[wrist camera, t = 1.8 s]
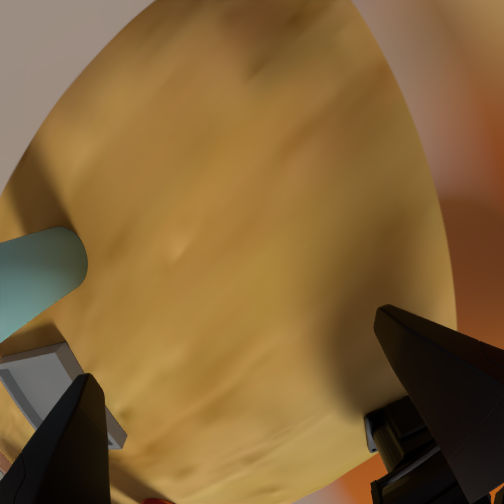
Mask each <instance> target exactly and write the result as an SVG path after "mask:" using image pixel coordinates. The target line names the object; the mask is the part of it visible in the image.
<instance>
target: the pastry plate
mask: <svg viewBox="0 0 504 504" xmlns="http://www.w3.org/2000/svg"><path fill="white" fill-rule="evenodd" d="M11 466H12V465H11V464H10V463H9V461H8V460H7V459H6V458H5V457H4V456H3V455H2V454H1V452H0V470H1V471H2V472H3V473H4V474H6V472H7V471H8V470H9V468H10V467H11Z"/></svg>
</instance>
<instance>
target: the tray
mask: <svg viewBox="0 0 504 504" xmlns="http://www.w3.org/2000/svg"><path fill="white" fill-rule="evenodd" d="M79 374H84V372H83V370H82V368H81V367H80V365H79V363H78V362H77V360H76V358H75V356H74V355H73V353H72V351H71V349H70V347H69V345H68V344H67V342H62V343H58V344H54V345H50V346H46V347H42V348H38V349H34V350H29V351H25V352H21V353H17V354H12V355H8V356H4V357H1V358H0V380H1V382H2V383H3V385H4V387H5V388H6V390H7V391H8V393H9V394H10V396H11V397H12V399H13V400H14V402H15V403H16V405H17V406H18V408H19V409H20V410H21V412H22V413H23V415H24V416H25V417H26V419H27V420H28V421H29V423H30V424H31V425H32V427H33V428H34V429H35V430H37V429H38V427H39V426H40V424H41V423H42V422H43V420H44V419H45V418H46V416H47V415H48V414H49V412H50V411H51V409H52V408H53V407H54V405H55V404H56V403H57V401H58V400H59V399H60V398H61V396H62V395H63V394H64V392H65V391H66V390H67V388H68V387H69V386H70V385H71V383H72V382H73V381H74V379H75V378H76V377H77V376H78V375H79ZM105 410H106V422H107V431H108V449H122V448H123V445H124V443H125V441H126V438H127V434H126V433H125V432H124V430H123V429H122V428H121V426H120V425H119V424H118V422H117V421H116V420H115V418H114V417H113V416H112V414H111V413H110V411H109V410H108V409H107V407H106V406H105Z"/></svg>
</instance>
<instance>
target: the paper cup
mask: <svg viewBox="0 0 504 504" xmlns="http://www.w3.org/2000/svg"><path fill="white" fill-rule="evenodd" d="M142 504H174V503H172V502H169V501H166V500H162V499H156V498H148V499H145V500H143V502H142Z"/></svg>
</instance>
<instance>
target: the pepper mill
mask: <svg viewBox="0 0 504 504" xmlns="http://www.w3.org/2000/svg"><path fill="white" fill-rule="evenodd" d="M87 267H88V261H87V254H86V251H85V248H84V246H83V244H82V242H81V240H80V239H79V237H78V236H77V235H76V234H75V233H74V232H73V231H71V230H70V229H68V228H65V227H53V228H50V229H46V230H42V231H39V232H35V233H32V234H29V235H25V236H22V237H18V238H15V239H12V240H9V241H5V242H2V243H0V343H1V342H2V341H4V340H5V339H6V338H8V337H9V336H10V335H11V334H13V333H14V332H15V331H17V330H18V329H19V328H21V327H22V326H23V325H25V324H26V323H28V322H29V321H30V320H32V319H33V318H34V317H36V316H37V315H39V314H40V313H41V312H43V311H44V310H46V309H47V308H48V307H50V306H51V305H53V304H54V303H55V302H57V301H58V300H60V299H61V298H63V297H64V296H66V295H67V294H68V293H70V292H71V291H73V290H74V289H76V288H77V287H79V286H80V285H81V284H82V282H83V281H84V279H85V277H86V274H87Z"/></svg>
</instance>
